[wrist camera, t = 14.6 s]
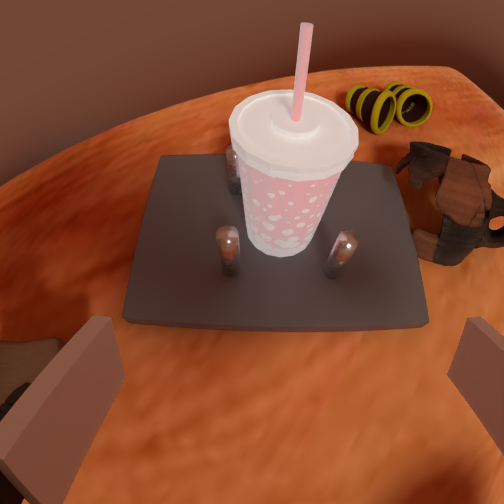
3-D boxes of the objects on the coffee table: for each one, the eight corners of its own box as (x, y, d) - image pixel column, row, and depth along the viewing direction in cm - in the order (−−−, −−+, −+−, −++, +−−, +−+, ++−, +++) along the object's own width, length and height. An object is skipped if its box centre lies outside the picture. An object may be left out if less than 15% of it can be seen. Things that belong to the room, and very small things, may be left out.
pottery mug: (371, 247, 23) (393, 141, 18) (392, 211, 29) (407, 134, 25) (506, 298, 17) (545, 197, 13) (494, 249, 24) (518, 172, 20)
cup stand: (128, 322, 19) (94, 294, 14) (163, 165, 26) (150, 119, 21) (420, 327, 19) (461, 301, 14) (387, 174, 26) (406, 132, 21)
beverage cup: (306, 282, 19) (380, 77, 7) (219, 246, 20) (190, 36, 8) (334, 210, 22) (391, 29, 10) (257, 182, 23) (262, -1, 11)
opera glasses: (398, 109, 33) (403, 74, 29) (428, 128, 30) (437, 91, 26) (339, 119, 31) (342, 78, 27) (370, 141, 28) (377, 97, 24)
